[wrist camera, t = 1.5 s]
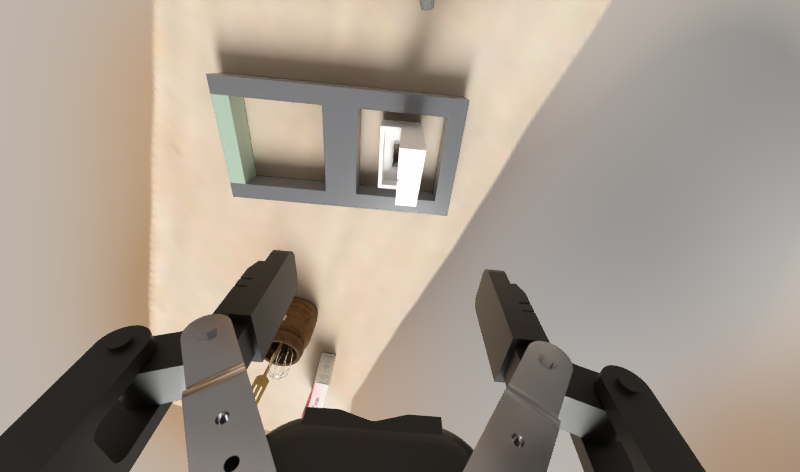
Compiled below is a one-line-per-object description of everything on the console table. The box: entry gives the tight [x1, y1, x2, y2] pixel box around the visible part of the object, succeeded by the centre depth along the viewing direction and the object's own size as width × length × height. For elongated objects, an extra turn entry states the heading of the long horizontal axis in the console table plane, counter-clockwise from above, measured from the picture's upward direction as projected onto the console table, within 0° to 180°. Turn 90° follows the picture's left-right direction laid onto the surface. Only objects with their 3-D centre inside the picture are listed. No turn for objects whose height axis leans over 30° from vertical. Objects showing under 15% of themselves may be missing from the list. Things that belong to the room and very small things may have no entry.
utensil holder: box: [251, 298, 317, 404], centre depth 37 cm, size 6×6×12 cm
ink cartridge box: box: [302, 352, 336, 418], centre depth 45 cm, size 2×11×10 cm, turn 163°
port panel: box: [206, 73, 469, 216], centre depth 28 cm, size 11×22×2 cm, turn 85°
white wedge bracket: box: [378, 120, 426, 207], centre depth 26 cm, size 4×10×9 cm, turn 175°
